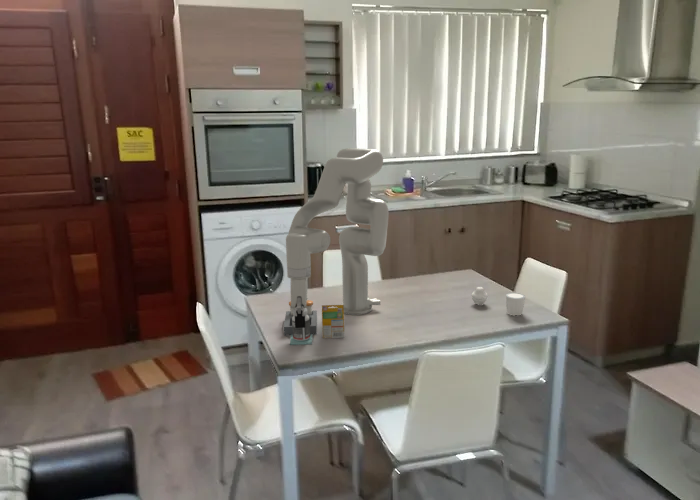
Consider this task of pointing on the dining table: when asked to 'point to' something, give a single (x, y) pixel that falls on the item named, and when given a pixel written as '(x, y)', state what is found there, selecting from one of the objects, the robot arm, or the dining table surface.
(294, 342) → the pad
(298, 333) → the pill bottle
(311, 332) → the housing
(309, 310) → the plunger
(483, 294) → the white rounded lump
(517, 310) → the shot glass
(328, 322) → the crayon box
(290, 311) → the plunger
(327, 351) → the dining table surface
